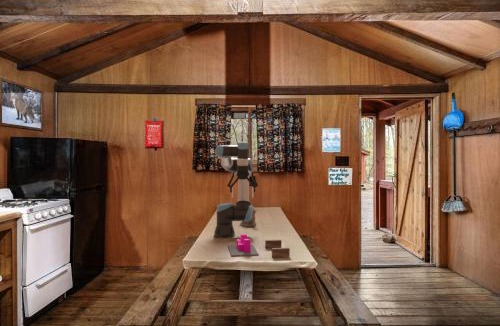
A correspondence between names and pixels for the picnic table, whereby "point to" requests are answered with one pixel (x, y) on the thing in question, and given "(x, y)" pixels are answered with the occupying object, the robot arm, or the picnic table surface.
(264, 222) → the picnic table surface
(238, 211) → the robot arm
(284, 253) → the block
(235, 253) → the slate mat
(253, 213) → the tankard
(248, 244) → the toy block
